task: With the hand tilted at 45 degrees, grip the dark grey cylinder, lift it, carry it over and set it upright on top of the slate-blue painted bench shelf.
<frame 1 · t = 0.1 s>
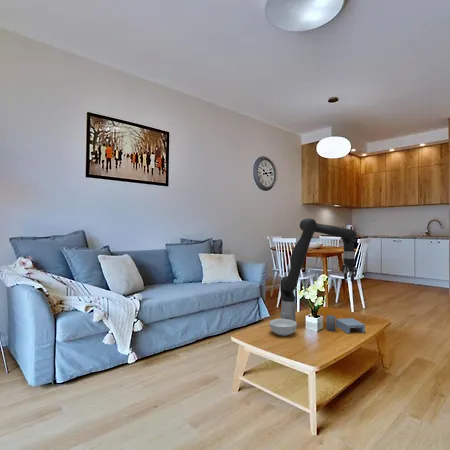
hand: (349, 280, 215), 29 cm above the table, tool pointing down, fingers open, 8 cm apart
dark grey cylinder: (330, 330, 199), on the table
bench shelf: (350, 329, 200), on the table
cereal bowl: (283, 333, 193), on the table
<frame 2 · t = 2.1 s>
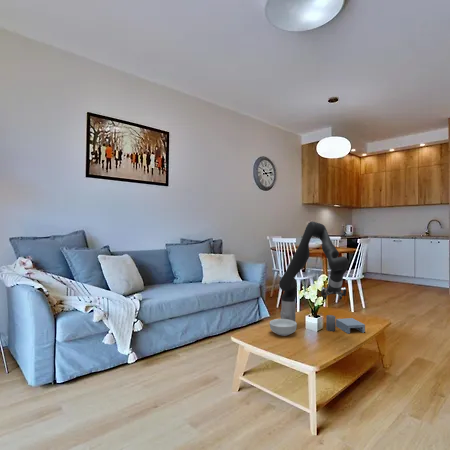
hand: (332, 298, 190), 23 cm above the table, tool tilted 40°, fingers open, 8 cm apart
nothing on the table moved.
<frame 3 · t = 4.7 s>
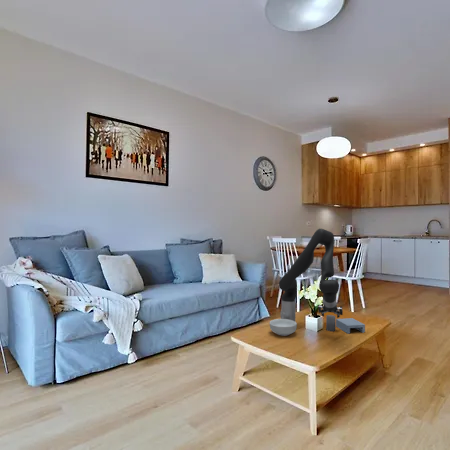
hand: (330, 316, 193), 11 cm above the table, tool tilted 45°, fingers open, 8 cm apart
nothing on the table moved.
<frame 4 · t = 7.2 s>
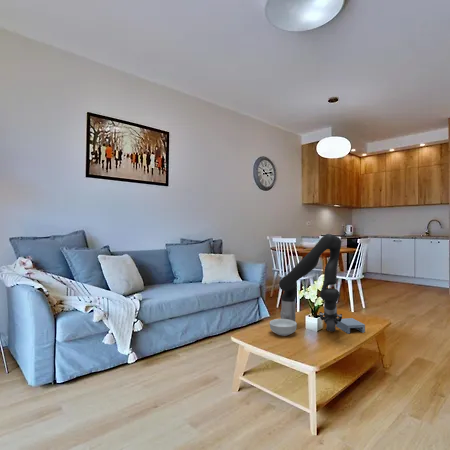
hand: (330, 322, 201), 4 cm above the table, tool tilted 45°, fingers closed on dark grey cylinder, 5 cm apart
dark grey cylinder: (330, 330, 199), on the table, touching gripper
everything else where it was.
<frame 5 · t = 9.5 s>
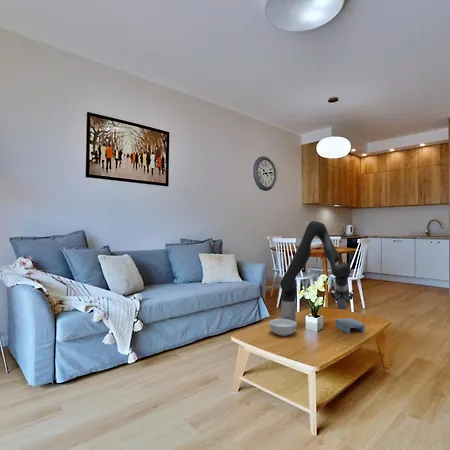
hand: (342, 301, 201), 18 cm above the table, tool tilted 45°, fingers closed on dark grey cylinder, 5 cm apart
dark grey cylinder: (342, 308, 199), point 14 cm above the table, touching gripper
everything else where it was.
when the fingers open (11 cm above the table, at t = 12.2 s): dark grey cylinder drops 1 cm, resting on bench shelf.
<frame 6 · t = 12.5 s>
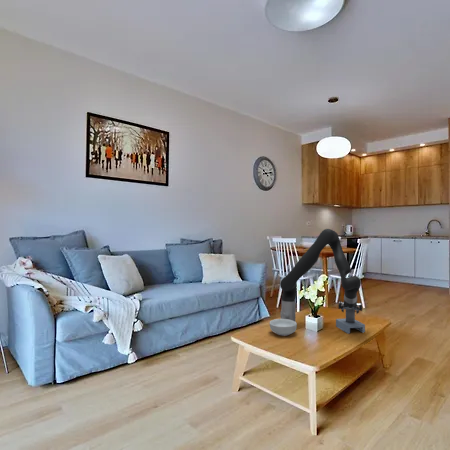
hand: (349, 311, 202), 11 cm above the table, tool tilted 45°, fingers open, 8 cm apart
dark grey cylinder: (350, 321, 200), point 5 cm above the table, touching bench shelf
everything else where it was.
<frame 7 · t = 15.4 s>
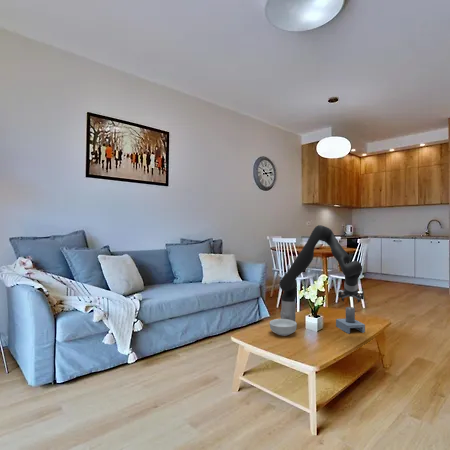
hand: (350, 300, 190), 21 cm above the table, tool tilted 45°, fingers open, 8 cm apart
nothing on the table moved.
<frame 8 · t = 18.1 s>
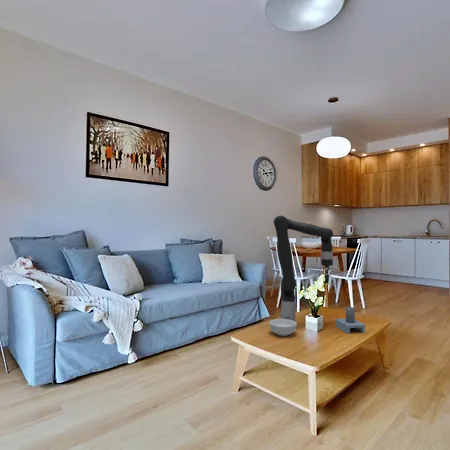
hand: (326, 282, 204), 30 cm above the table, tool pointing down, fingers open, 8 cm apart
nothing on the table moved.
at the end: dark grey cylinder inside the target area on the bench shelf (0.2 cm from its centre), point 5.0 cm above the bench shelf's base; dark grey cylinder tilted 0°; the gripper is holding nothing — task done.
